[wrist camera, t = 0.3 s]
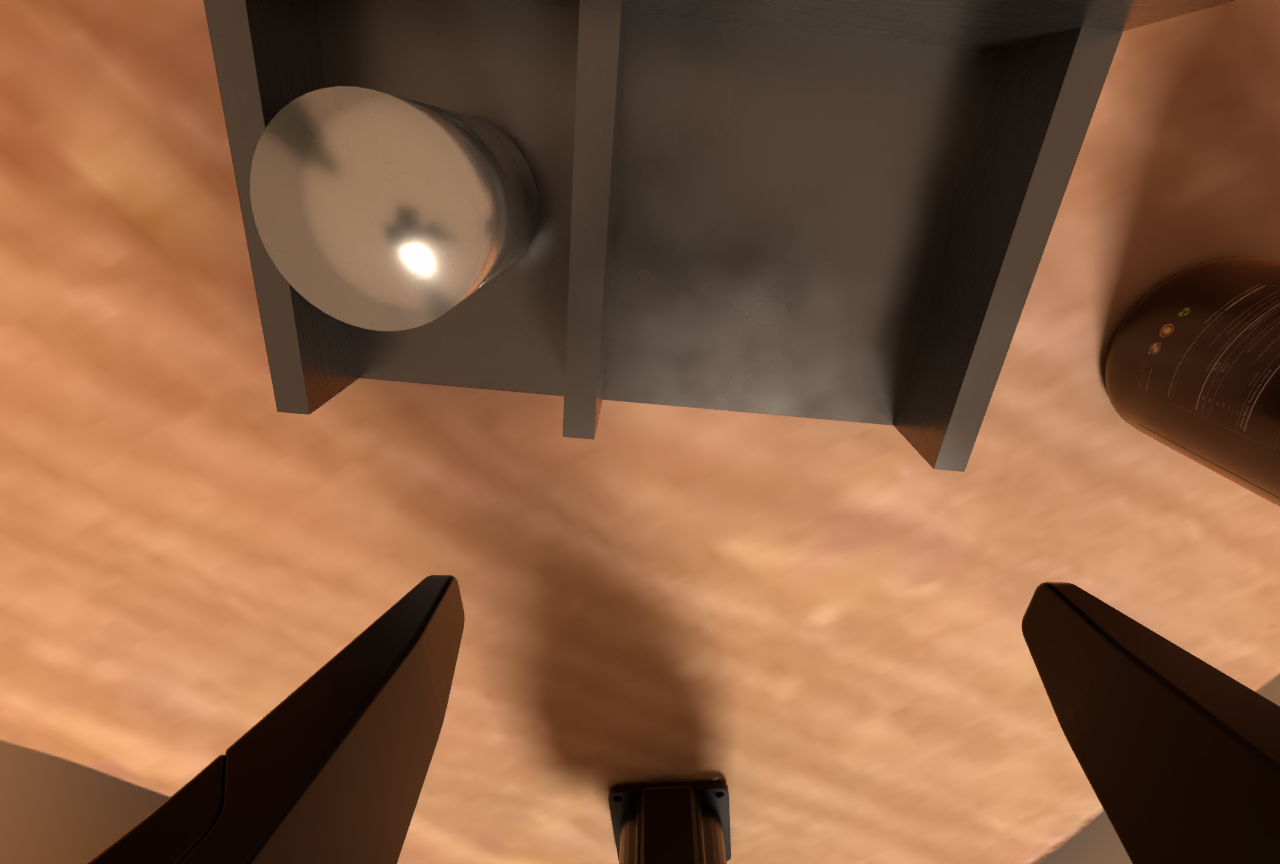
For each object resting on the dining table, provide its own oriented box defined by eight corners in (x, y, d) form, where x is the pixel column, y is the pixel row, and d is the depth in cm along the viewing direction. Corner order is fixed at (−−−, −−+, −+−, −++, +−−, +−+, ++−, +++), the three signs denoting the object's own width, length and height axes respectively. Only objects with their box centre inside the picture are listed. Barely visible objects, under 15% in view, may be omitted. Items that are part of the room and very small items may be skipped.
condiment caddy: (908, 417, 23) (1027, 533, 16) (344, 366, 23) (200, 463, 15) (1028, 22, 18) (1289, -75, 11) (292, -55, 17) (33, -213, 10)
